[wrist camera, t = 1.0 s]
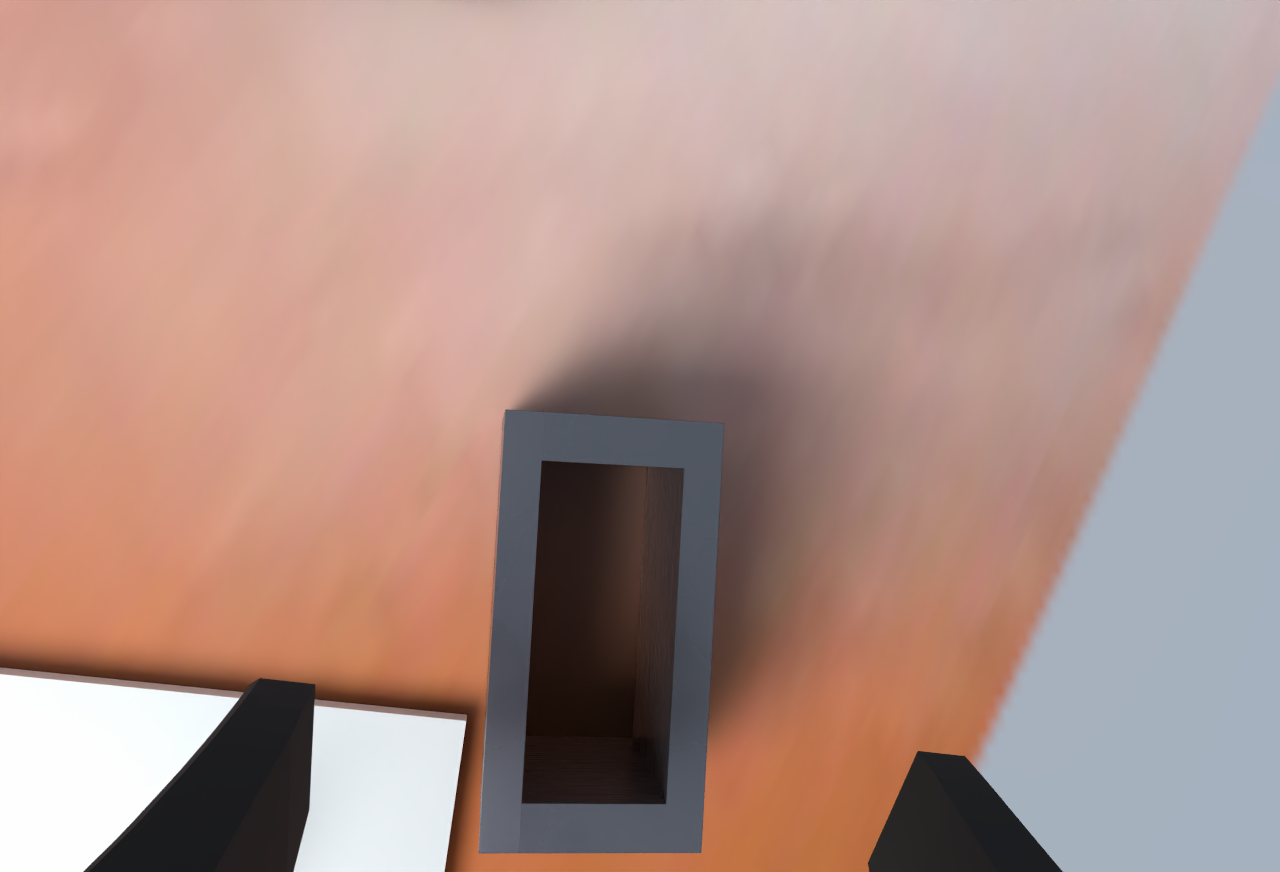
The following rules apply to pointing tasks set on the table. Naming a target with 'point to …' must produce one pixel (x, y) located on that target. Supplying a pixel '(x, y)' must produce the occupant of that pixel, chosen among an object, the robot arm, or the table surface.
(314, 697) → the robot arm
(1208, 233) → the table surface
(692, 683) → the grey open storage bin
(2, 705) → the keeper plate
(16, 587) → the table surface
